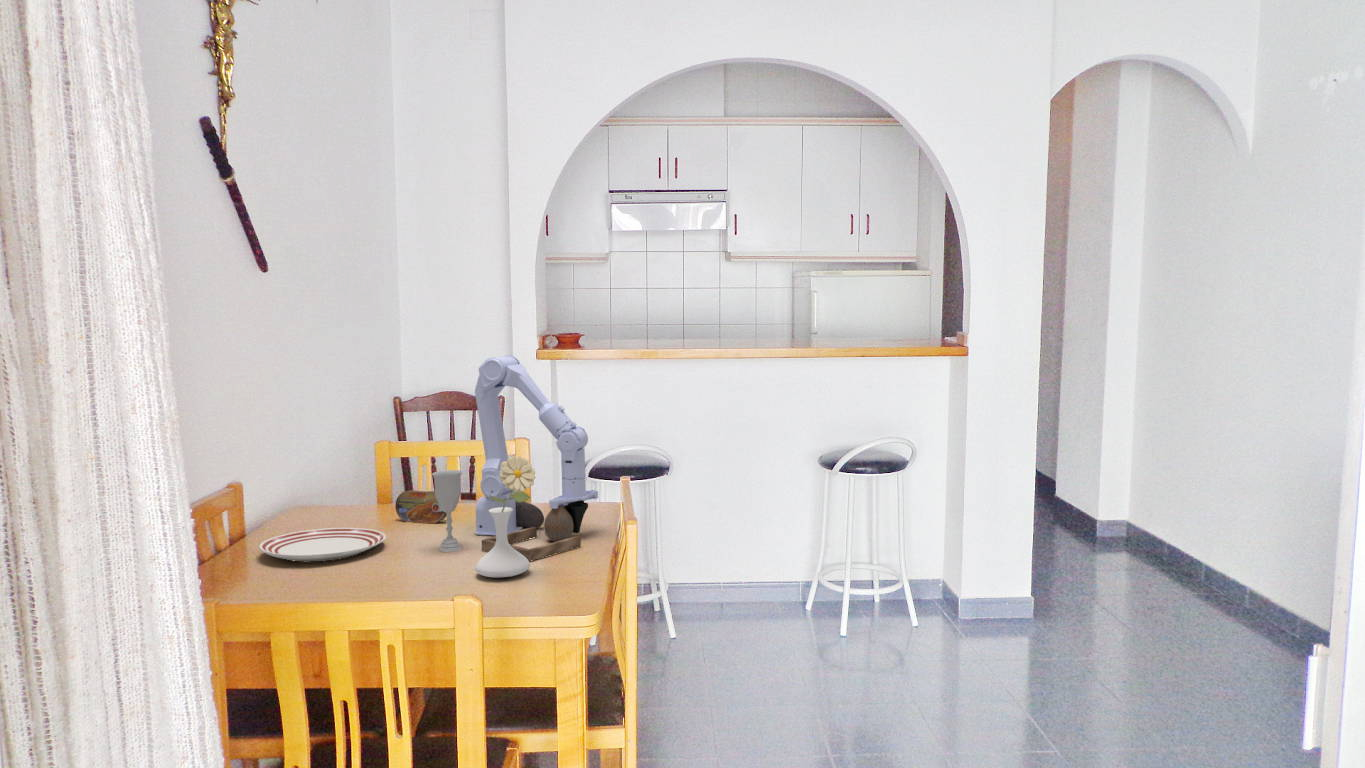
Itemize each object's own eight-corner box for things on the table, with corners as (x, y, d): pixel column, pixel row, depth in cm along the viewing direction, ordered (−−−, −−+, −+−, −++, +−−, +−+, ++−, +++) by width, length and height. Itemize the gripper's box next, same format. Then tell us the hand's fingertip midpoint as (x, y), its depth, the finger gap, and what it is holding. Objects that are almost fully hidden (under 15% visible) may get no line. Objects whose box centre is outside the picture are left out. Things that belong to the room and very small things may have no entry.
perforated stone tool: (550, 528, 233) (549, 501, 232) (536, 532, 228) (536, 505, 228) (505, 521, 240) (504, 495, 240) (491, 526, 236) (490, 499, 235)
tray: (529, 562, 201) (528, 551, 201) (481, 550, 212) (481, 540, 211) (580, 547, 213) (580, 536, 213) (533, 536, 224) (533, 526, 224)
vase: (576, 536, 223) (575, 501, 222) (570, 544, 216) (569, 507, 215) (548, 536, 223) (547, 501, 223) (541, 544, 217) (540, 507, 216)
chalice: (456, 553, 209) (453, 476, 208) (429, 552, 211) (426, 475, 209) (470, 545, 216) (467, 470, 215) (443, 544, 218) (440, 469, 216)
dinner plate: (334, 533, 232) (334, 520, 231) (411, 546, 218) (410, 532, 217) (233, 559, 208) (233, 545, 208) (312, 576, 194) (311, 560, 194)
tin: (395, 521, 243) (393, 490, 242) (402, 519, 246) (400, 488, 245) (445, 524, 238) (443, 492, 238) (451, 521, 241) (450, 490, 241)
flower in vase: (477, 584, 185) (472, 462, 183) (473, 569, 196) (469, 454, 194) (541, 578, 189) (538, 458, 187) (534, 563, 200) (531, 450, 198)
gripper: (563, 483, 214) (564, 540, 215) (606, 474, 225) (607, 528, 226) (542, 480, 218) (544, 536, 219) (586, 471, 229) (587, 524, 231)
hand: (575, 532), depth 223 cm, fingers closed
